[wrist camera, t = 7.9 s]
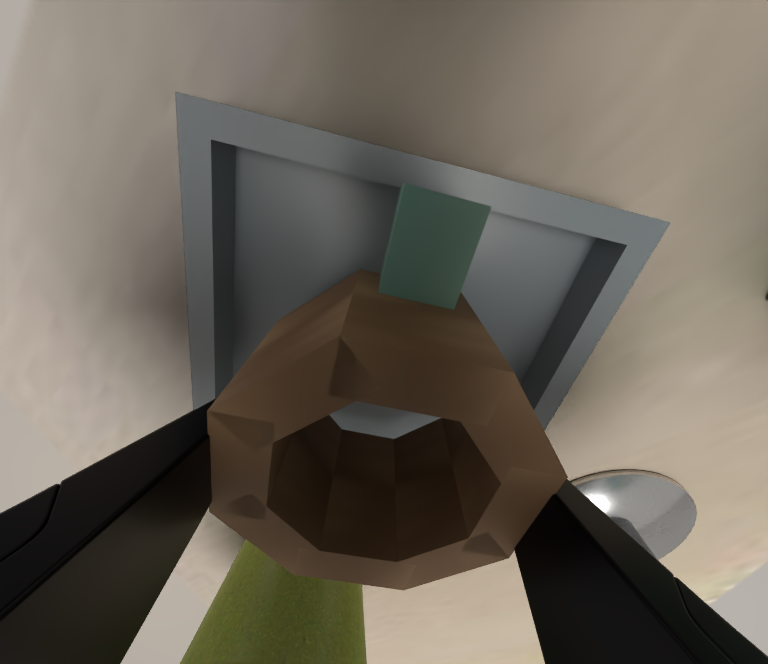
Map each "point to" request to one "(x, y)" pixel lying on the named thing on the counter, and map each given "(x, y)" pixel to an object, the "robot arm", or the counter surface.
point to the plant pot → (279, 618)
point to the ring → (394, 390)
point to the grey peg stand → (643, 506)
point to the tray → (383, 250)
